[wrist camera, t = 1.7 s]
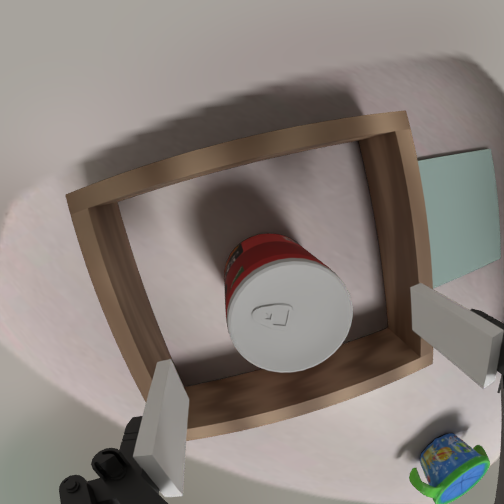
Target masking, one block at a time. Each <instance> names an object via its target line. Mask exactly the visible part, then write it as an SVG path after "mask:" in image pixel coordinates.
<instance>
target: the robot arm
mask: <svg viewBox="0 0 504 504" xmlns="http://www.w3.org/2000/svg"><path fill="white" fill-rule="evenodd" d="M410 291H411V309H412V330H413V331H414V332H415V333H417V334H418V335H419V336H420V337H422V338H423V339H424V340H425V341H427V342H428V343H429V344H430V345H431V346H433V347H434V348H435V349H436V350H438V351H439V352H440V353H441V354H442V355H444V356H445V357H446V358H447V359H448V360H450V361H451V362H452V363H453V364H454V365H456V366H457V367H458V368H459V369H460V370H462V371H463V372H464V373H465V374H466V375H467V376H469V377H470V378H471V379H472V380H473V381H475V382H476V383H477V384H478V385H479V386H480V387H482V388H483V389H484V388H486V387H487V386H489V385H490V384H492V383H493V382H494V381H495V378H496V373H497V371H498V372H500V373H501V374H502V376H501V380H500V384H499V388H498V393H500V389H501V405H502V429H501V452H500V466H499V476H498V484H497V491H496V498H495V503H494V504H504V324H503V323H502V322H500V321H498V320H496V319H494V318H493V317H491V316H488V314H486V313H484V312H482V311H479V310H475V309H471V310H469V309H467V308H465V307H463V306H462V305H460V304H458V303H456V302H455V301H453V300H451V299H449V298H447V297H446V296H444V295H442V294H440V293H438V292H437V291H435V290H433V289H431V288H429V287H428V286H426V285H424V284H422V283H420V284H417V285H415V286H412V287H410ZM188 409H189V398H188V396H187V393H186V391H185V389H184V387H183V385H182V382H181V380H180V378H179V376H178V374H177V371H176V369H175V367H174V364H173V362H172V360H171V359H168V360H164V361H159V362H157V365H156V368H155V372H154V376H153V379H152V383H151V387H150V390H149V394H148V398H147V401H146V405H145V409H144V413H143V416H140V417H133V418H132V419H131V420H130V422H129V423H128V424H127V426H126V429H125V432H124V434H125V435H124V436H123V439H122V440H123V441H122V443H121V446H120V450H118V449H115V448H107V449H104V450H102V451H100V452H98V453H97V454H96V455H95V456H94V458H93V459H92V463H91V465H92V468H93V470H94V471H95V472H96V473H97V474H98V475H99V477H100V478H99V479H95V480H91V481H86V480H85V479H84V478H83V477H82V476H80V475H72V476H69V477H67V478H65V479H64V480H63V481H62V483H61V484H60V487H59V493H60V500H61V504H168V503H167V502H166V501H165V500H164V499H163V498H162V497H161V496H160V495H159V491H160V492H161V493H162V494H163V495H164V496H165V497H174V496H183V485H184V466H185V450H186V435H187V422H188Z"/></svg>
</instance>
